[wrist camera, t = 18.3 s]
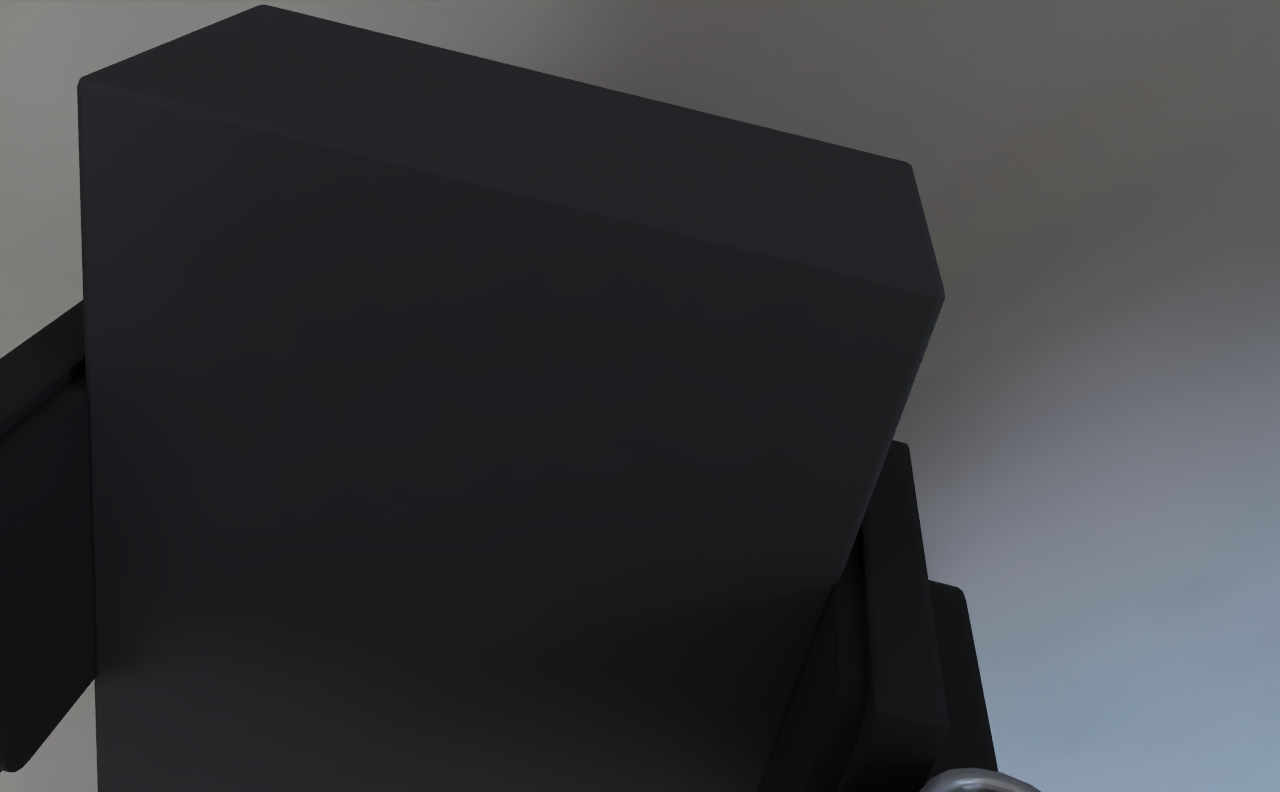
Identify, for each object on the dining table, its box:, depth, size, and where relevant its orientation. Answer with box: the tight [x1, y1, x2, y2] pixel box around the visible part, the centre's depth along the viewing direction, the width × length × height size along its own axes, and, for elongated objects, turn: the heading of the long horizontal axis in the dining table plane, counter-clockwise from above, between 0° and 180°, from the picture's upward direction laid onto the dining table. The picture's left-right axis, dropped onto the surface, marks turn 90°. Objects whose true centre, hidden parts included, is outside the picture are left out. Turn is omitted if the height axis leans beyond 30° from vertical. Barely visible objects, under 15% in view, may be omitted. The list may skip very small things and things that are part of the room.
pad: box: [77, 5, 945, 792], centre depth 12 cm, size 11×6×3 cm, turn 168°
